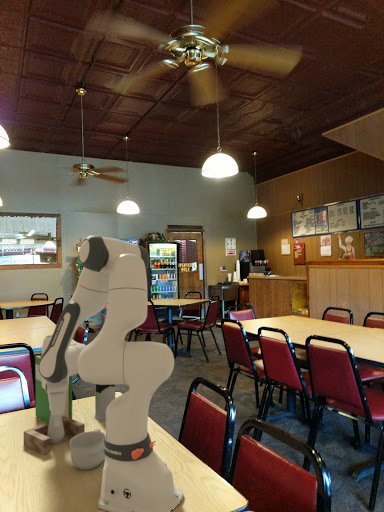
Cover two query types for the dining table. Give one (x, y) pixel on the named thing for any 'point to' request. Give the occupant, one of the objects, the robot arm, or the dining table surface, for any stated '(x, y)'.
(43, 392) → the hardback book
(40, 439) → the walnut holder
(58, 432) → the salt shaker
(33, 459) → the dining table surface
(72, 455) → the teacup
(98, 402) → the tall mug
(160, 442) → the dining table surface
